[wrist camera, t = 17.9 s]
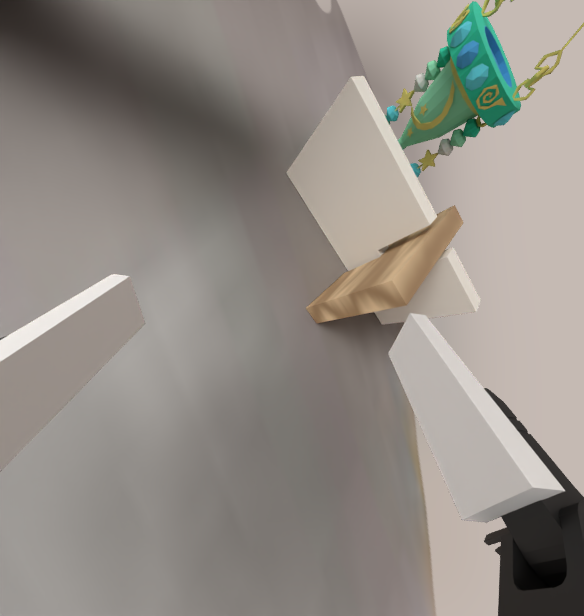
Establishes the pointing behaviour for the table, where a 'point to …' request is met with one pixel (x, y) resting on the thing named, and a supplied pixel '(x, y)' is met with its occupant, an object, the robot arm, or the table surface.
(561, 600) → the robot arm
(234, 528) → the table surface
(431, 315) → the cream slotted board
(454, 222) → the tan faceted tapered block
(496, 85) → the hanging basket ornament
